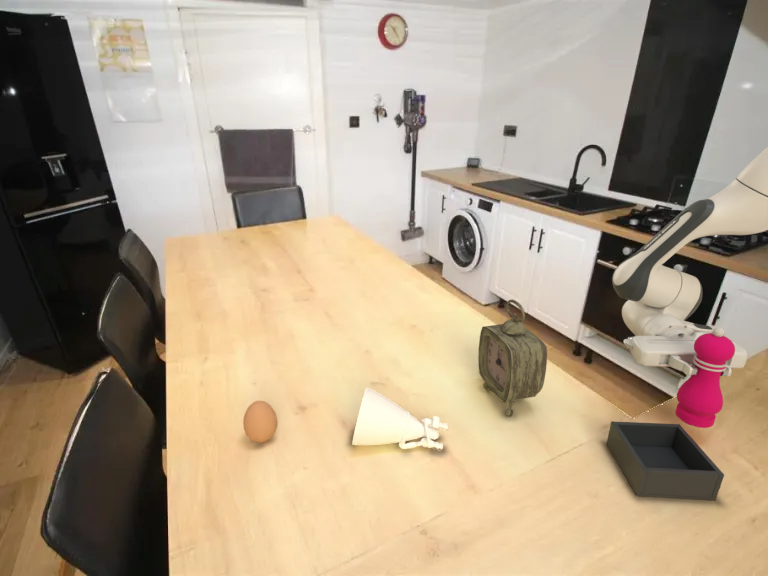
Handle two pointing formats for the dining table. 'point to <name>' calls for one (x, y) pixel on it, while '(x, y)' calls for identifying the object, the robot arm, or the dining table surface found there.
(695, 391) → the pepper mill
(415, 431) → the rocket engine
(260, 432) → the egg
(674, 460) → the bin
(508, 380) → the tabletop clock
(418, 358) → the dining table surface
